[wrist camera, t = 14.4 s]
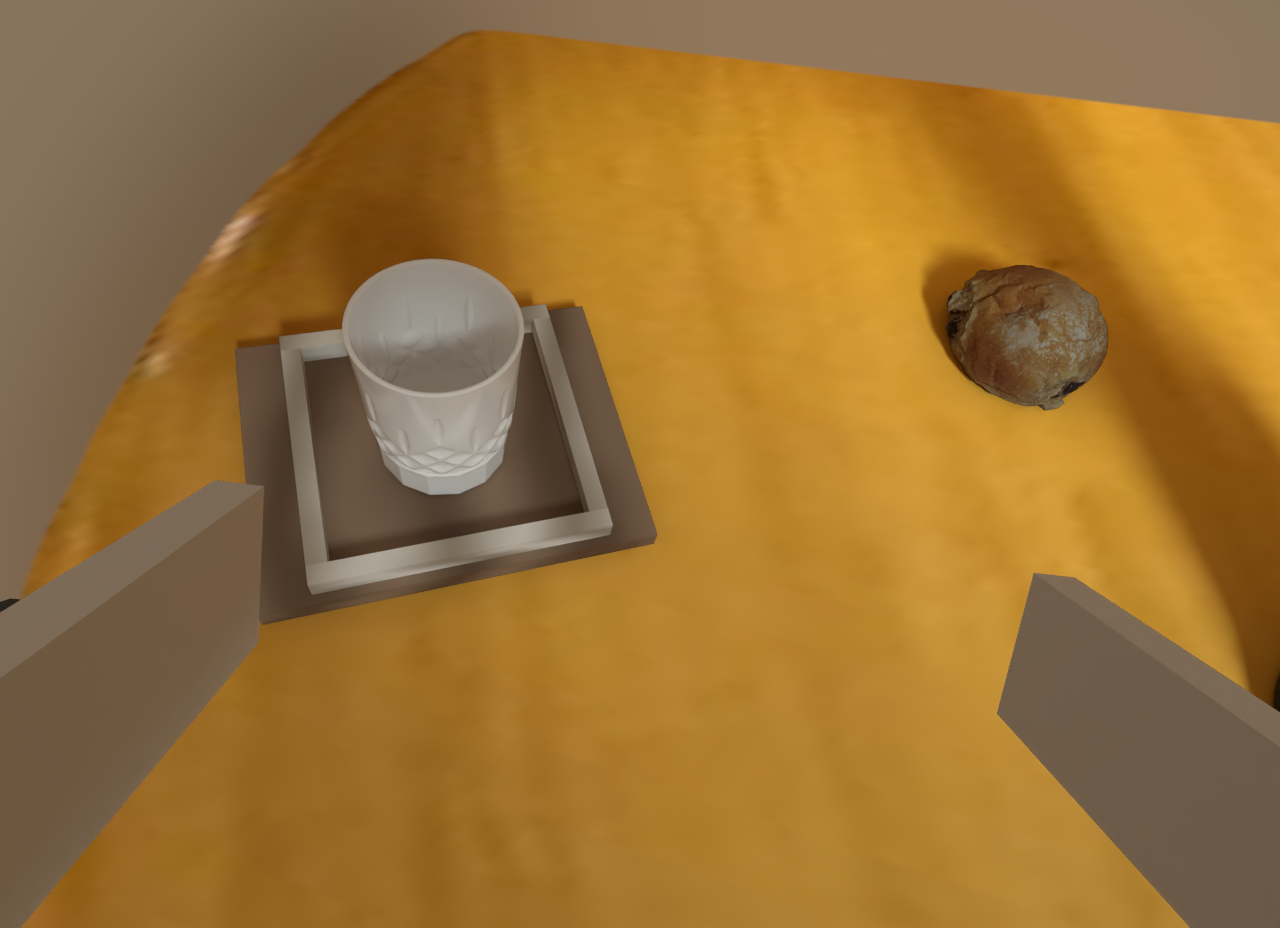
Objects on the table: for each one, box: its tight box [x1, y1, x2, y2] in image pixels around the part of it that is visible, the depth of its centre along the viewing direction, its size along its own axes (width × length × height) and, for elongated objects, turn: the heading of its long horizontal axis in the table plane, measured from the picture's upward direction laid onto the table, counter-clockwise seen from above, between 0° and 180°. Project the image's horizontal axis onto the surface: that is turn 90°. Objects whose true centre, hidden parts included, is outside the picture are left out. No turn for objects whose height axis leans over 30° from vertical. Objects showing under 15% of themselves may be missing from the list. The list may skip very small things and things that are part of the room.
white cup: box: [342, 259, 524, 495], centre depth 42 cm, size 8×8×10 cm
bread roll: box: [946, 265, 1108, 410], centre depth 56 cm, size 10×10×8 cm
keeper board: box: [235, 304, 657, 624], centre depth 46 cm, size 20×16×2 cm
